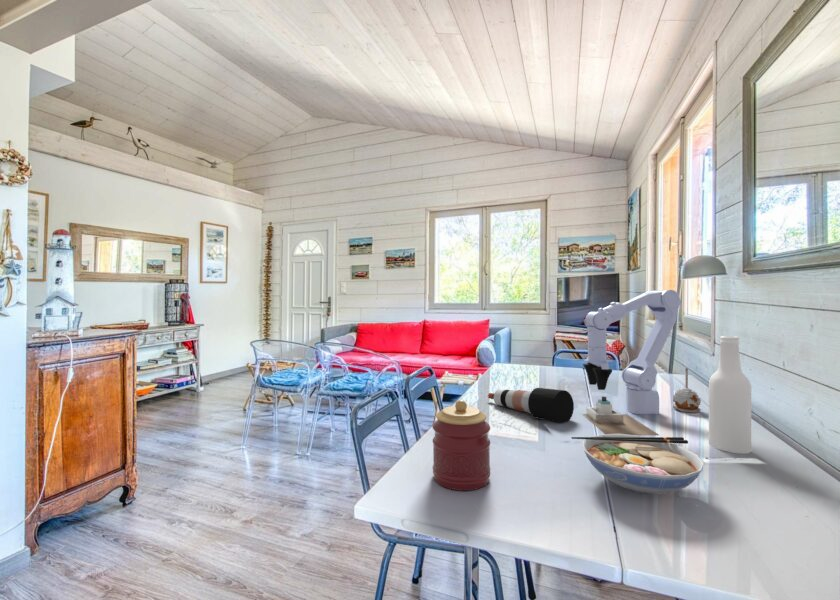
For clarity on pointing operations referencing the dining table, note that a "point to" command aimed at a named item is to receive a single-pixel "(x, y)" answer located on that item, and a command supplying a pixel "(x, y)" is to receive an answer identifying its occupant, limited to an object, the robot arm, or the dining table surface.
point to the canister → (461, 448)
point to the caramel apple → (686, 399)
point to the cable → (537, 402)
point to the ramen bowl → (643, 462)
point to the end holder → (604, 416)
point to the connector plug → (603, 406)
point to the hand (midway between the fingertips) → (597, 387)
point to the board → (623, 427)
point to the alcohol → (730, 401)
